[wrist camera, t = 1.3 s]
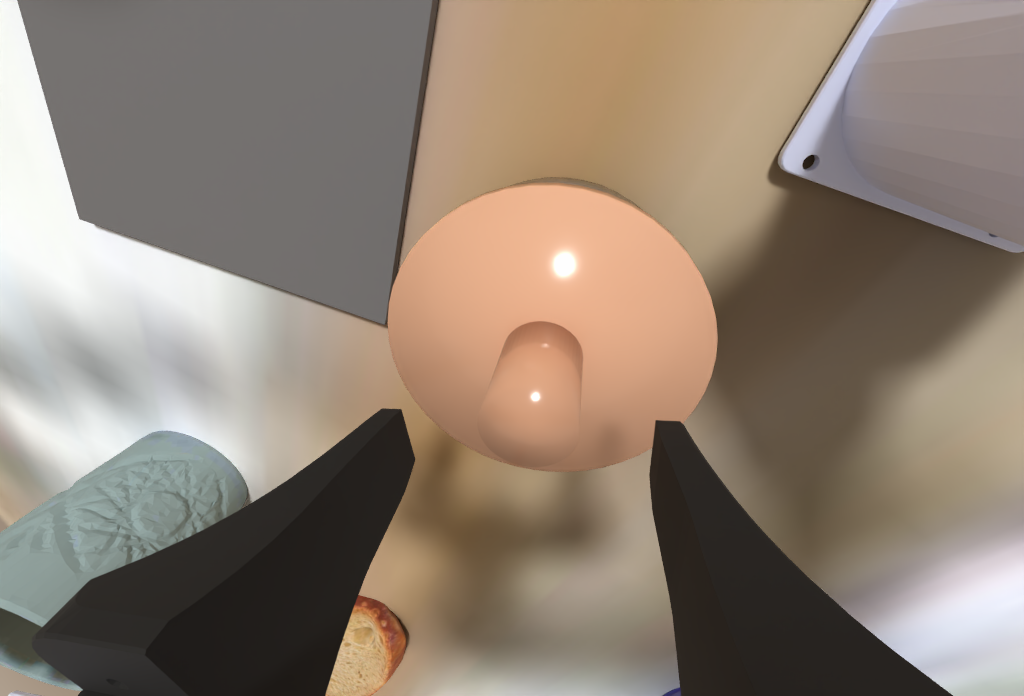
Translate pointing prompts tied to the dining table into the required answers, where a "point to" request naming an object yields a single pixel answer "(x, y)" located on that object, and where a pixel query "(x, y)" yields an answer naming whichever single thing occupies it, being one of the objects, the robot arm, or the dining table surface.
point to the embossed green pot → (106, 533)
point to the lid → (552, 327)
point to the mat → (244, 131)
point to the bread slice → (367, 650)
